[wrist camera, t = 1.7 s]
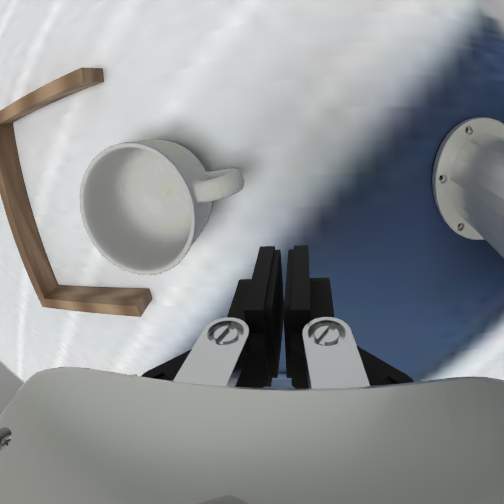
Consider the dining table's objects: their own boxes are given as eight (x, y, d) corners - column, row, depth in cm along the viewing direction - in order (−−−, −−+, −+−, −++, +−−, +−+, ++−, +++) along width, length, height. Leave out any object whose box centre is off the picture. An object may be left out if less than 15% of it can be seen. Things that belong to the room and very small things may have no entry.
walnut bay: (102, 68, 24) (81, 67, 21) (152, 298, 36) (140, 316, 33) (5, 115, 27) (-14, 120, 24) (55, 293, 39) (42, 306, 36)
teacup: (133, 236, 32) (94, 274, 25) (114, 139, 27) (64, 156, 20) (259, 234, 30) (246, 278, 23) (250, 121, 25) (232, 129, 18)
